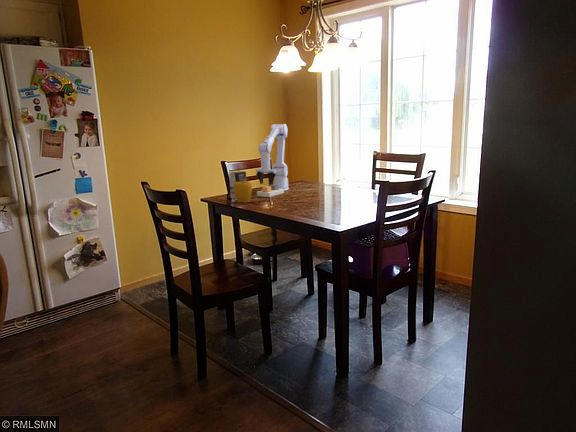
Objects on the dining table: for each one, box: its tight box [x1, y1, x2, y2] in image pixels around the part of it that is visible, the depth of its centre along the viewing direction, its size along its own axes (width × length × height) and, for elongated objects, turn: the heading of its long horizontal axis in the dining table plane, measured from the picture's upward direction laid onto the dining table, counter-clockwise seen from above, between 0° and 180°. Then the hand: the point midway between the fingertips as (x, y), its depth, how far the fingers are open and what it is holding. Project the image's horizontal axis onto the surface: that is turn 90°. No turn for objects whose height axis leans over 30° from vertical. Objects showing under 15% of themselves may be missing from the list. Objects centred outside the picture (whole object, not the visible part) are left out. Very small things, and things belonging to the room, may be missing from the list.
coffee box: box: [228, 170, 247, 200], centre depth 269 cm, size 9×6×16 cm
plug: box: [261, 185, 271, 193], centre depth 272 cm, size 4×4×6 cm
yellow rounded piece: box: [234, 180, 253, 204], centre depth 255 cm, size 11×11×13 cm
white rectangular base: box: [256, 183, 285, 199], centre depth 275 cm, size 16×10×6 cm, turn 146°
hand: (266, 184), depth 271 cm, fingers open, 7 cm apart
